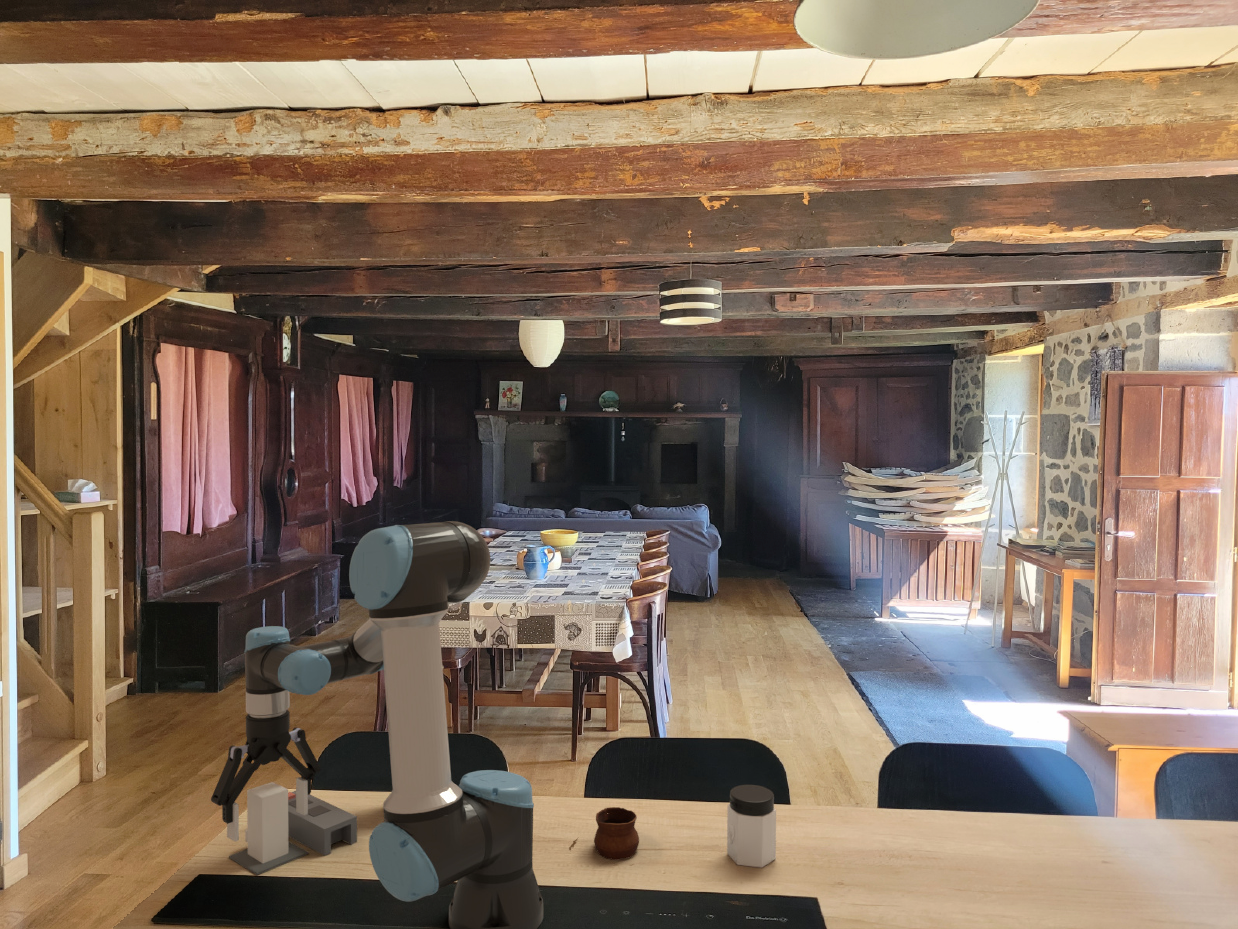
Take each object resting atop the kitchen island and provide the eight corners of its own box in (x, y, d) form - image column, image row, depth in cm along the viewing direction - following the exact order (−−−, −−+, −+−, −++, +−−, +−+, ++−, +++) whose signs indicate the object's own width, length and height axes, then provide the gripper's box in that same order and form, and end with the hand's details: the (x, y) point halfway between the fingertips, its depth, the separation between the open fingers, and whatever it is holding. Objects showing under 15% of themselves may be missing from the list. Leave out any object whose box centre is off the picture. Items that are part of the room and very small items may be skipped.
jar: (721, 848, 162) (721, 786, 162) (759, 843, 165) (760, 781, 164) (741, 871, 154) (742, 805, 153) (782, 865, 156) (782, 800, 156)
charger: (288, 853, 159) (288, 789, 158) (262, 863, 155) (262, 798, 154) (265, 839, 164) (264, 777, 164) (239, 849, 160) (239, 786, 160)
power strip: (357, 842, 164) (356, 813, 164) (324, 855, 158) (324, 826, 158) (299, 813, 176) (299, 786, 176) (267, 825, 171) (267, 797, 171)
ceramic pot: (552, 861, 157) (553, 823, 157) (594, 823, 173) (595, 789, 173) (642, 884, 150) (643, 845, 150) (677, 843, 166) (678, 807, 166)
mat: (308, 854, 159) (308, 852, 159) (257, 875, 151) (257, 873, 151) (279, 838, 165) (279, 836, 165) (228, 858, 157) (228, 856, 157)
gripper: (316, 692, 170) (317, 798, 170) (189, 725, 150) (190, 844, 151) (338, 699, 165) (339, 808, 166) (210, 734, 145) (211, 857, 146)
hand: (268, 825), depth 158 cm, fingers open, 13 cm apart
